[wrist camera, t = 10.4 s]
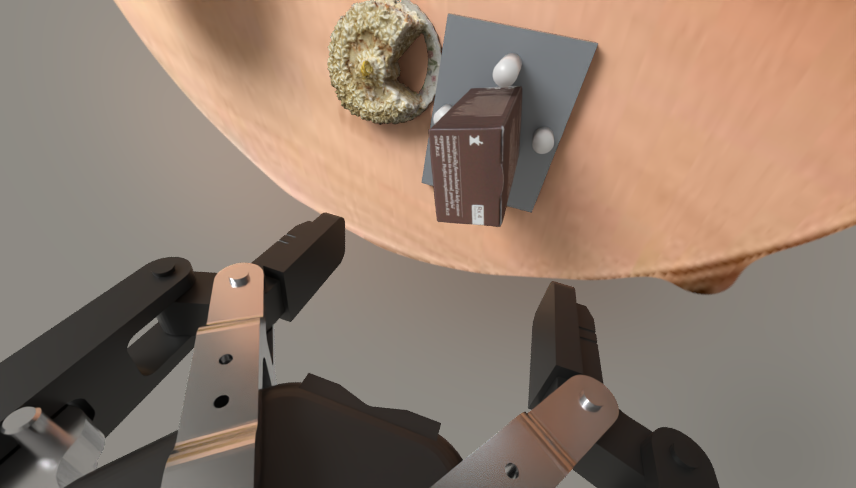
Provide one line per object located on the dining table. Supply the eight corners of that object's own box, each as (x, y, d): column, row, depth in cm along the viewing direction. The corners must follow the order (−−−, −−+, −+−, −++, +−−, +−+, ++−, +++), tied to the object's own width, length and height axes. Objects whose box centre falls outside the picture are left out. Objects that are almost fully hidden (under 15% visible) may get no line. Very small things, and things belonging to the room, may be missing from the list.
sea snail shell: (356, 125, 34) (325, 140, 30) (327, 5, 29) (285, 3, 25) (449, 118, 30) (428, 135, 26) (435, -20, 25) (407, -27, 21)
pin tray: (595, 42, 25) (609, 49, 20) (531, 206, 33) (529, 240, 28) (451, 13, 26) (430, 13, 21) (424, 178, 34) (405, 205, 29)
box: (466, 88, 27) (425, 126, 18) (523, 85, 26) (512, 124, 17) (468, 159, 31) (434, 224, 21) (519, 159, 29) (508, 229, 20)
